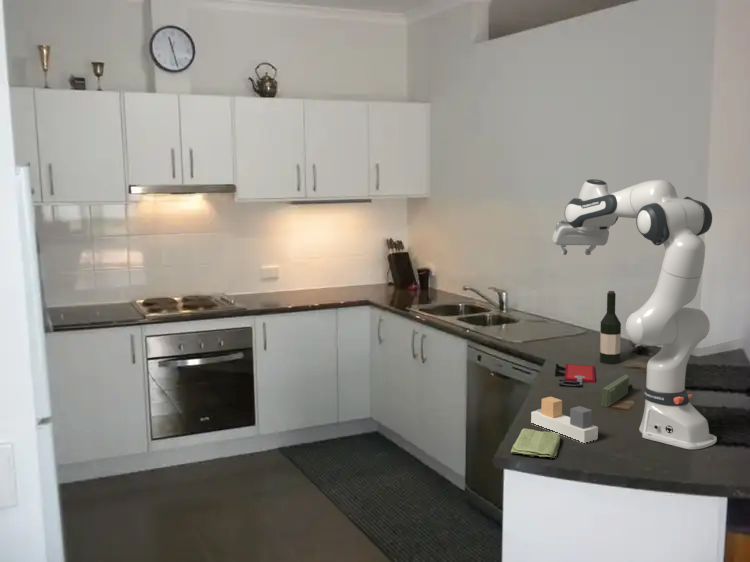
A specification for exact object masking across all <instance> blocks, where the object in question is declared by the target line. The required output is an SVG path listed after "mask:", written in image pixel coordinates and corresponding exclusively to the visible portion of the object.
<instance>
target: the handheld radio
mask: <svg viewBox="0 0 750 562" xmlns="http://www.w3.org/2000/svg"><path fill="white" fill-rule="evenodd" d="M629 383H630V378H629V375H628V374H624V375H622V376H620V377H619V378H617V379H616V380H614V381H613V382H611V383H609V384H608V385H606V386H605V387H603V388H602V389H601V390H602V391H601V407H604V408H608V406H609V407H611V406H612V405H613V404H614V402H615V401H616V402H618V401H619V400H620V399H621V398H623V397H625V396H626V395H627V394H629V390H631V389H632V388H633V387H634V386H633V384H629ZM616 402H615V403H616ZM611 404H612V405H611Z"/></svg>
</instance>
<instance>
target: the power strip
mask: <svg viewBox="0 0 750 562" xmlns="http://www.w3.org/2000/svg"><path fill="white" fill-rule="evenodd" d="M530 412H531V413H530V414H531V415H530V416H531V418H530V424H531V423H534V424H536V425H539V426H542V427H544V428H547V429H550V430H553V431H555V432H558V433H560V434H563V435H566V436H568V437H571V438H573V439H576V440H579V441H580V442H579V443H581V442H583V443H585V444H587V443H586V442H588V443H591V442H594V441H597V439H598V437H599V427H598V426H597V425H594V424H592V426H590V427H587V428H584V429H582V428H579V427H577V426H574V425H571V424H570V416H568V415H565V414H562V416H558V417H555V418H551V417H549V416H546V415H543V414H541V408H538V409H536V410H533V411H530ZM536 425H535V426H536ZM544 428H543V429H544ZM573 439H572V440H573ZM593 440H594V441H593ZM590 441H591V442H590ZM583 443H582V444H583Z"/></svg>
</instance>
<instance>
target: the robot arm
mask: <svg viewBox="0 0 750 562" xmlns="http://www.w3.org/2000/svg"><path fill="white" fill-rule="evenodd" d="M608 188H609V187H608V183H607V182H606V181H604V180H602V179H598V178H597V179H594V178H593V179H586V180H585V181H584V182H583V185H582V186H581V189H580V191H579V193H578V194H579V195H578V198H575V197H574V198H573V199H571V200H570V201H569V202H568V203H567V205H566V206H565V209H564V219H565V220H560V221H559V222H557V224H556V226H555V229H554V232H553V234H552V238H551V239H552V241H553V243H554V245H556V246H560V247H561V251H560V253H561V254H562V255H563V256H565V255H567V253H568V250H567V248H566V247H567V246H589V247H588V248H585V251H584V254H585V255H586V256H590V255H591V254H592V252H593V250H595V249H596V247H597V246H605V245H607V243H608V240H609V236H610V231H609V230H610V228H611V227H612V226H614V225H615V224H616V223H617V221H618V219H619V218H627V219H635V220H636V221H635V223H636V228H637V230H638V232H639V233H640V234H641V235H642V236H643V237H644V239H646V240H649V241H651V242H652V244H653V245H654V246H661V245H662V244H663V246H664V249H665V252H664V257H663V261H662V265H661V268H660V271H659V276H658V279H657V281H656V282H657V283H656V286H655V287H654V288H655V289H654V290H653V292H652V294H651V296H650V297H649V298H648V299H647V300H646V301H645V302H644V304H643V305H642V306H640V308H638V309H637V310H635V311H634V312H632V313H630V315H628V317H627V319H626V322H625V332H626V336H627V339H629V341H631V342H632V343H633V344H635V345H639V346H649V347H652V346H653V347H654V346H662V347H661V348H660V349H659V352H657V353H656V354H655V355H653V356H652V357H651V358H649V359H648V361H647V365H646V379H645V380H646V383H645V384H646V385H645V386H644V392H643V393H644V396H643V397H644V410H643V414H642V419H641V423H640V426H639V428H638V429H639V433H641V434H642V435H641V437H642V438H643V439H647V440H650V441H653V442H654V441H655V442H657V443H658V442H659V443H663V444H666V445H669V446H670V445H671V446H673V447H677V448H681V449H685V450H686V449H687V450H700V449H705V448H708V447H710V446H713V445H715V444H716V443H717V442H718V439H717V436H716V435H714V434H711V433H710V430H709V429H710V428H709V423H708V420H707V418H706V417H704V415H702V414H701V413H700V412H699V410H697V408H695V407H694V406H693V405H692V403H691V402H690V399H691V398H693V393H690V394H688V392H687V389H686V388H685V387H686V386H685V385H686V375H687V374H686V373H687V367H688V362H689V359H690V357H691V356H692V355H691V354H692V353H693V351H694V350H695V348H696V347H697V346H698V345H699V343H700V342H702V341H703V340H704V339H706V338H707V336H708V335H709V332H710V328H711V324H710V319H709V317H708V316H707V313H706V312H704V310H702V309H699V308H694V307H692V308H691V307H686V305H689V303H691V302H693V300H694V299H695V298H696V296H697V293H698V289H699V284H700V281H701V277H702V273H703V269H704V265H705V256H706V255H705V254H706V244H705V241H704V240H703V239H702V238H701V237H700V236H701V235H704V234H706V233H708V232H709V230H710V229H711V226H712V223H713V213H712V211H711V209H710V208H709V206H708V205H707V203H705V202H703V201H700V200H696V199H694V198H692V197H690V196H685V197H684V198H682V197H681V198H680V197H679V196H678V194H677V190H676V187H675V186H674V185H673V184H672V183H671V182H669V180H665V179H653V180H652V179H651V180H647V181H646V180H645V181H642V182H639V183H637V184H633V185H631V186H629V187H626V188H625V187H624V189H620V190H618V191H614V192H612V193H609V190H608Z"/></svg>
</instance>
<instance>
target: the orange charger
mask: <svg viewBox="0 0 750 562" xmlns="http://www.w3.org/2000/svg"><path fill="white" fill-rule="evenodd" d="M540 409H541V414H543V415H546V416H549V417H551V418H555V417H558V416H562V415H563V400H562V399H559V398H556V397H553V396H547V397H543V398H541V408H540Z"/></svg>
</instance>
